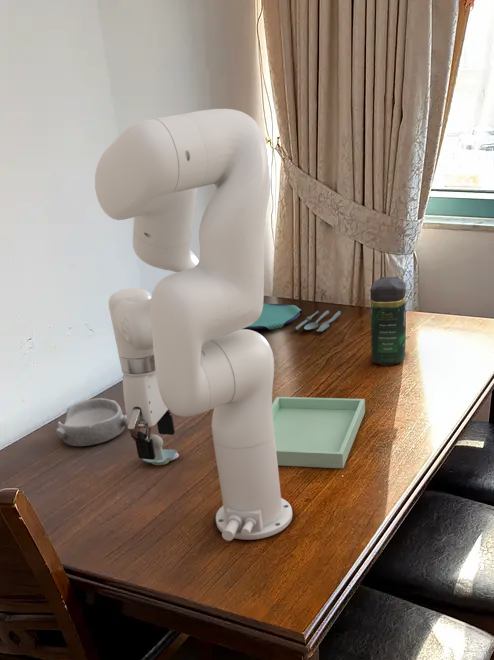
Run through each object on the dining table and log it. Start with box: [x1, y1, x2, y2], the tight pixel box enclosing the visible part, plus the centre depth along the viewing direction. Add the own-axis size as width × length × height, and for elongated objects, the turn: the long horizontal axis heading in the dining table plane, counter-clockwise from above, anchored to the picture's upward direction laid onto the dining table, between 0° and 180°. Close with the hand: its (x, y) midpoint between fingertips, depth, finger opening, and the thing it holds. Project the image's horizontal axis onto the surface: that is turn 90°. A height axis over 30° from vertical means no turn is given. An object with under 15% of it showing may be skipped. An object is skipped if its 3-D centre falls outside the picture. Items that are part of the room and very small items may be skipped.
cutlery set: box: [245, 302, 342, 333], centre depth 210 cm, size 20×30×2 cm, turn 64°
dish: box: [55, 397, 129, 447], centre depth 160 cm, size 14×14×5 cm
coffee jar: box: [369, 276, 407, 366], centre depth 177 cm, size 10×8×19 cm
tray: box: [272, 396, 366, 469], centre depth 150 cm, size 24×19×3 cm
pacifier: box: [141, 433, 180, 466], centre depth 146 cm, size 7×6×6 cm
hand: (157, 445), depth 147 cm, fingers open, 9 cm apart
